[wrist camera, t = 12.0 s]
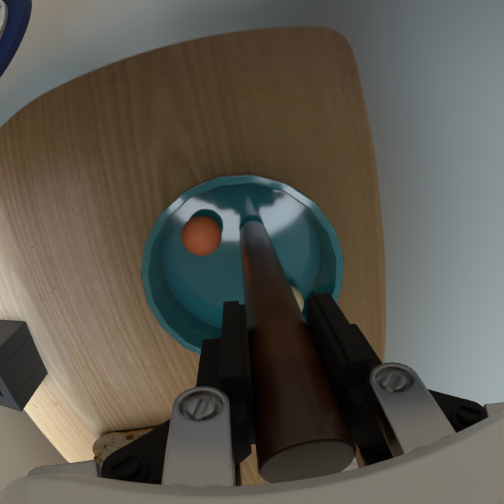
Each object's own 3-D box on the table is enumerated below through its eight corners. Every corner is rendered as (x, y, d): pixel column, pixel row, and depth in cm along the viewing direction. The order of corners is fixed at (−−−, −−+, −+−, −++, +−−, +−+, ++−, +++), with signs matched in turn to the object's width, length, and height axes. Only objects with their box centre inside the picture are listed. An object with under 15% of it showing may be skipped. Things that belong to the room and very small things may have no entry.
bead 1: (182, 213, 25) (175, 221, 22) (220, 210, 25) (218, 218, 22) (187, 250, 26) (181, 262, 23) (224, 247, 26) (222, 259, 23)
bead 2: (267, 278, 26) (283, 300, 23) (297, 277, 27) (315, 298, 25) (257, 307, 27) (272, 330, 25) (287, 305, 28) (303, 327, 26)
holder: (-11, 318, 28) (-44, 348, 20) (25, 321, 28) (-10, 356, 20) (10, 366, 30) (-16, 399, 22) (48, 373, 30) (21, 412, 23)
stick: (238, 221, 24) (255, 447, 5) (266, 219, 24) (366, 429, 5) (240, 248, 24) (260, 491, 5) (267, 246, 25) (348, 477, 6)
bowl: (147, 182, 24) (127, 188, 19) (324, 168, 25) (344, 171, 20) (172, 336, 29) (162, 366, 24) (322, 324, 29) (336, 353, 25)
